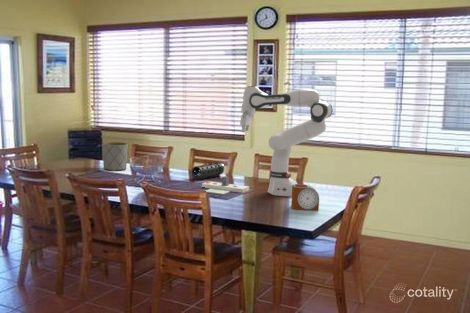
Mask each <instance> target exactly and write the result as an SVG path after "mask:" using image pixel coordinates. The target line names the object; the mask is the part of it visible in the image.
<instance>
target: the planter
mask: <svg viewBox="0 0 470 313" xmlns="http://www.w3.org/2000/svg"><path fill="white" fill-rule="evenodd" d="M101 145H102V147H101V148H102V149H101V150H102V162H103V164H102V165H103V169H104V170H108V171H111V172H116V171H124V170H126V171H127V166H128V165H127V164H128V149H129V144H128V143H127V142H122V141H121V142H120V141H119V142H118V141H117V142H116V141H113V142H111V141H110V142H102V144H101Z"/></svg>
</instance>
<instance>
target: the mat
mask: <svg viewBox="0 0 470 313" xmlns="http://www.w3.org/2000/svg"><path fill="white" fill-rule="evenodd" d="M205 191H206V192H205V193H211V194H217V195H226V194H228V193H230V192H231V191H225V190H217V189H210V188H207V189H206V190H205Z"/></svg>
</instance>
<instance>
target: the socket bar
mask: <svg viewBox="0 0 470 313" xmlns="http://www.w3.org/2000/svg"><path fill="white" fill-rule="evenodd" d="M202 187H205V188H204V189H216V190H224V191H230V192H231V193H232V192H234V193H243V194H244V193H245V192H249V191H250V185H249V186H248V185H241V184H232V183H229V185H228V186H222V182H217V181H209V180H208V181H205V182H202V183H201V188H202Z"/></svg>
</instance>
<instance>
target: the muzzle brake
mask: <svg viewBox="0 0 470 313" xmlns="http://www.w3.org/2000/svg"><path fill="white" fill-rule="evenodd" d="M225 169H226V168H225V165H224V164H223V163H222V162H214V163H209V164H202V165H201V164H200V165H197V166H195V165H194V167H192V169H191V176H192V177H193V179H195V180H197V181H199V180H203V179H208V178H210V177H211V178H214V177H215V178H216V177H217V176H221V175H223V174H224V172H225Z"/></svg>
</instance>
